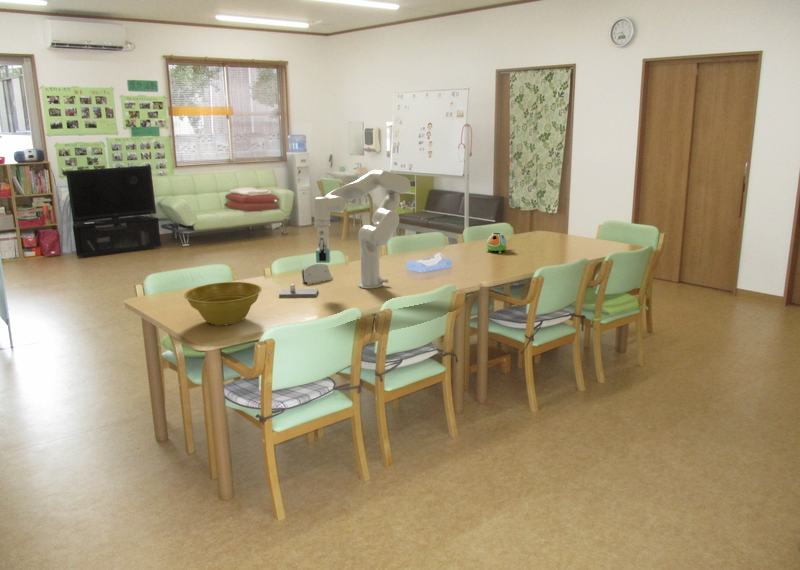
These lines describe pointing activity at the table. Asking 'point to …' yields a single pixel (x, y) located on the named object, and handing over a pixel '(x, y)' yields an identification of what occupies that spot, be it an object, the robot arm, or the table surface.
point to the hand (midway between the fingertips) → (323, 258)
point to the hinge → (316, 273)
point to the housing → (327, 251)
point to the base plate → (298, 292)
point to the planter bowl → (223, 301)
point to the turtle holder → (496, 242)
